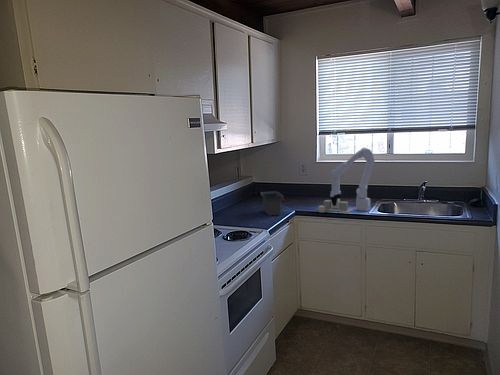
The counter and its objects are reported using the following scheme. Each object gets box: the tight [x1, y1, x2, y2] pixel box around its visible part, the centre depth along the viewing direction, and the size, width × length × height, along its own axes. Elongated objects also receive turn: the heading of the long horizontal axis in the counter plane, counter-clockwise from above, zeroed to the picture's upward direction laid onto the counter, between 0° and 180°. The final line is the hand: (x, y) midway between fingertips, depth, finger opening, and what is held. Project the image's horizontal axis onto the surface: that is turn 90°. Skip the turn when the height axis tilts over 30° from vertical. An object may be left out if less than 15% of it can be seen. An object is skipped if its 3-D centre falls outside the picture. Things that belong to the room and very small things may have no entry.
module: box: [330, 198, 341, 208], centre depth 272 cm, size 5×4×6 cm
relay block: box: [317, 205, 326, 213], centre depth 269 cm, size 4×4×4 cm
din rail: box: [322, 199, 354, 213], centre depth 272 cm, size 22×8×6 cm, turn 55°
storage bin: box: [260, 190, 285, 217], centre depth 271 cm, size 21×16×14 cm
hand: (335, 204), depth 272 cm, fingers closed on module, 4 cm apart
